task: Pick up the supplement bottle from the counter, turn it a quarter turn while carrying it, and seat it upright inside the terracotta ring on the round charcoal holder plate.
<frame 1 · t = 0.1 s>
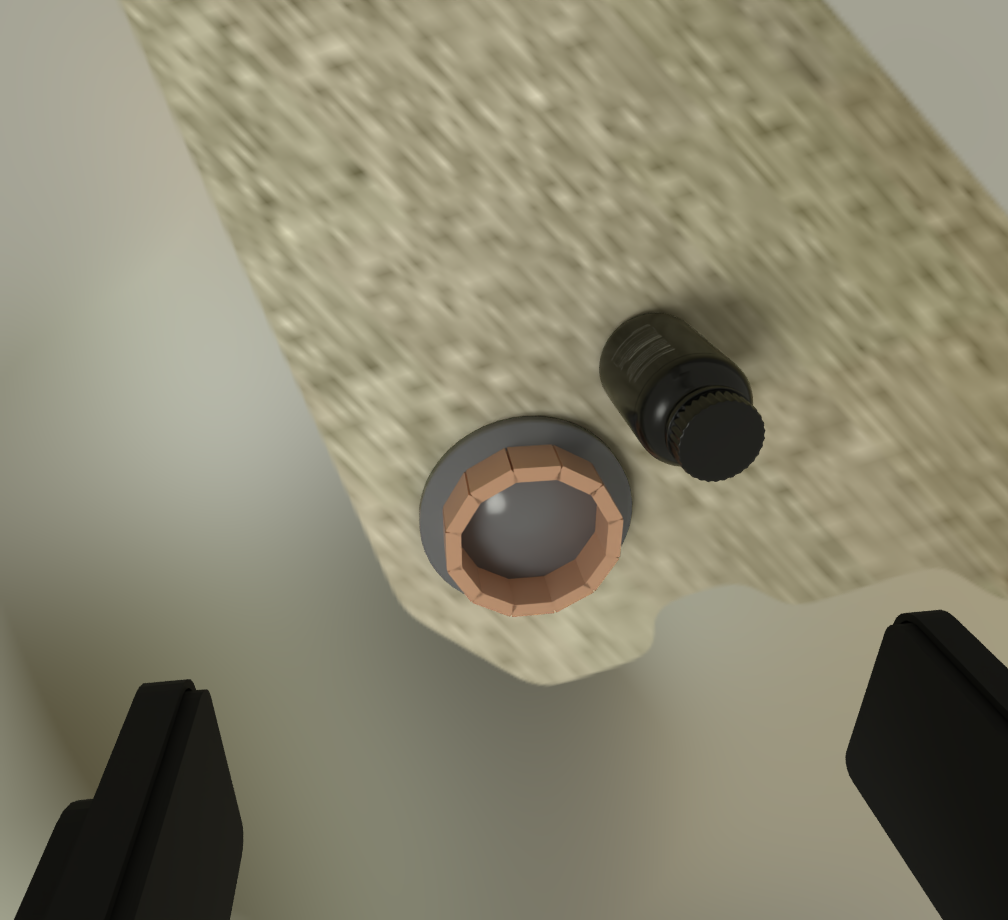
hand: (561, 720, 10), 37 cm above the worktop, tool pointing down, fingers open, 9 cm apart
bottle holder: (524, 511, 52), on the worktop
supplement bottle: (646, 359, 48), on the worktop
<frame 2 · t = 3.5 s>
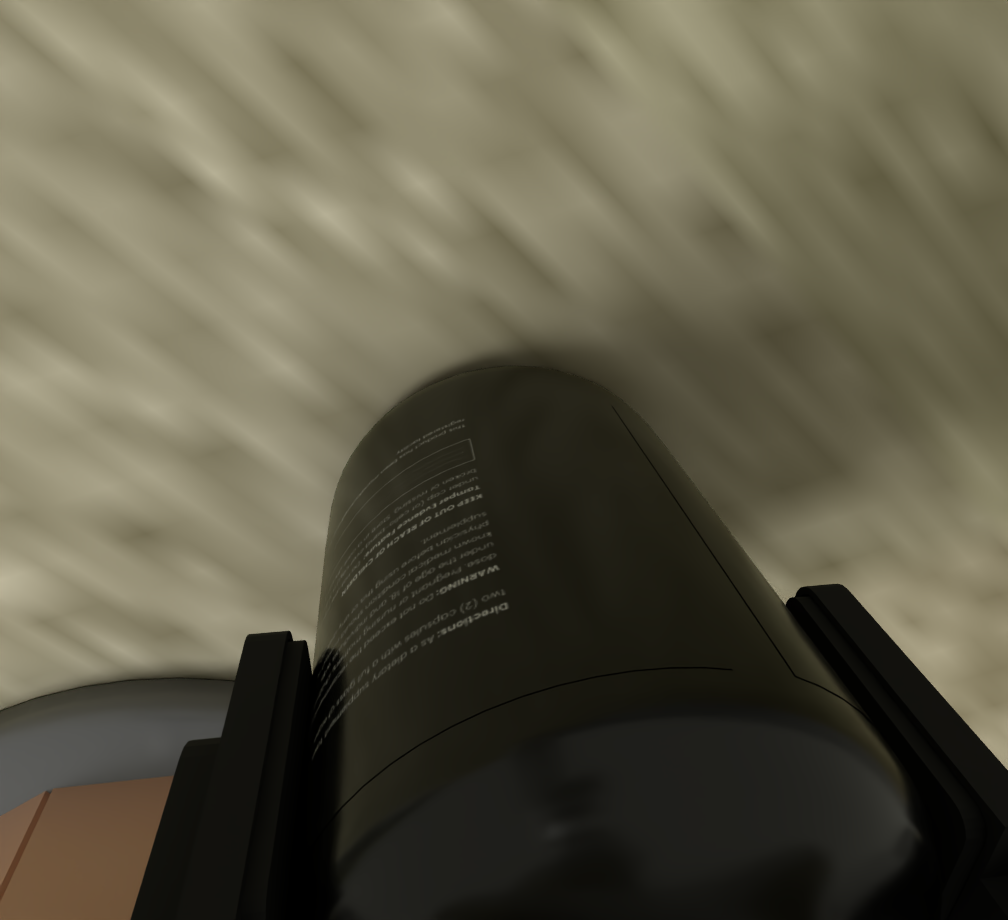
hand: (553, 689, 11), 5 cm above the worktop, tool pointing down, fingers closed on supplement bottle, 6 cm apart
bottle holder: (197, 895, 19), on the worktop
supplement bottle: (504, 509, 15), on the worktop, touching gripper
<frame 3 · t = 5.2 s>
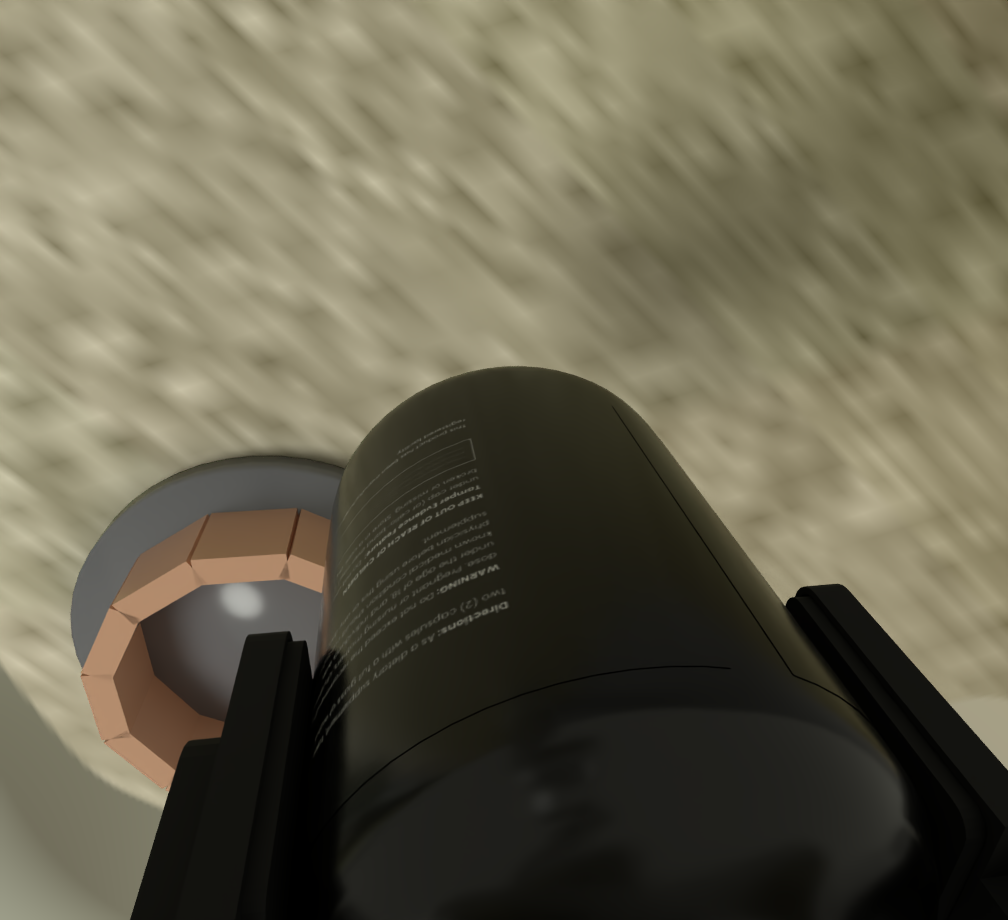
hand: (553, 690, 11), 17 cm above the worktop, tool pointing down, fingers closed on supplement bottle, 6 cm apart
bottle holder: (281, 619, 30), on the worktop
supplement bottle: (505, 508, 15), point 12 cm above the worktop, touching gripper
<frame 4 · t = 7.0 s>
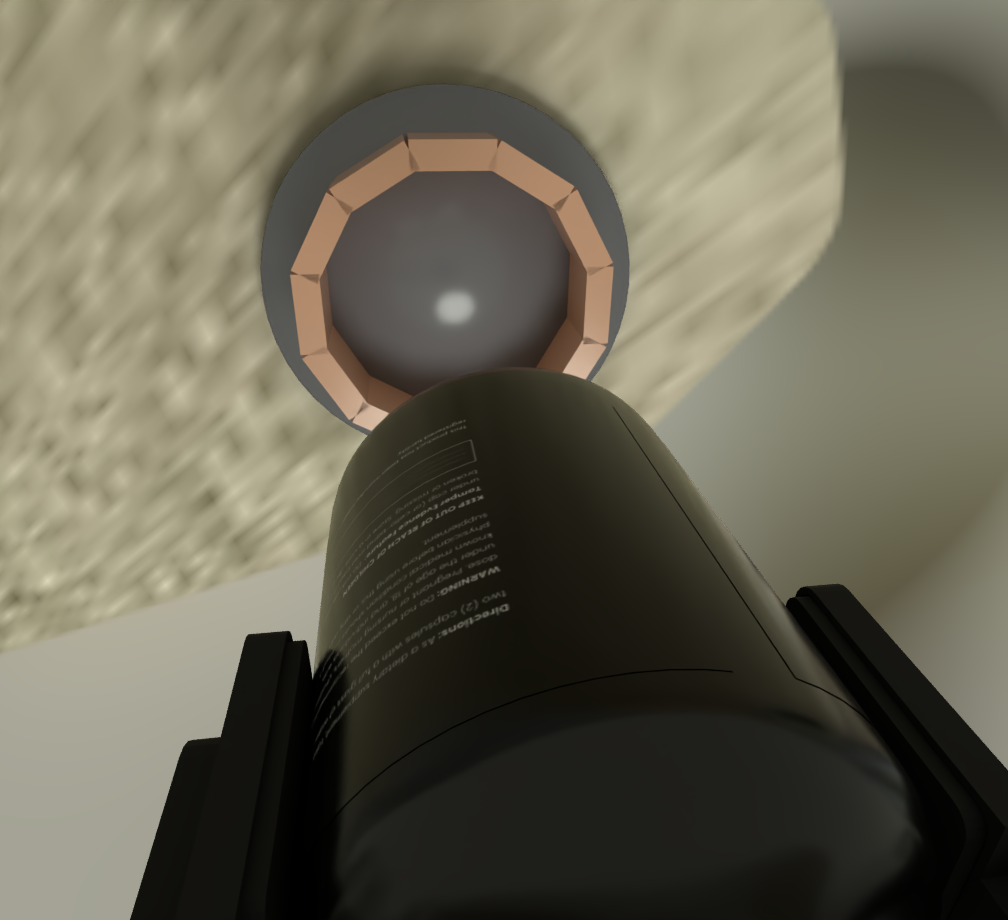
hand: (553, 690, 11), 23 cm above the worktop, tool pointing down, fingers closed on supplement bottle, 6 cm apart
bottle holder: (449, 282, 31), on the worktop
supplement bottle: (506, 509, 15), point 18 cm above the worktop, touching gripper
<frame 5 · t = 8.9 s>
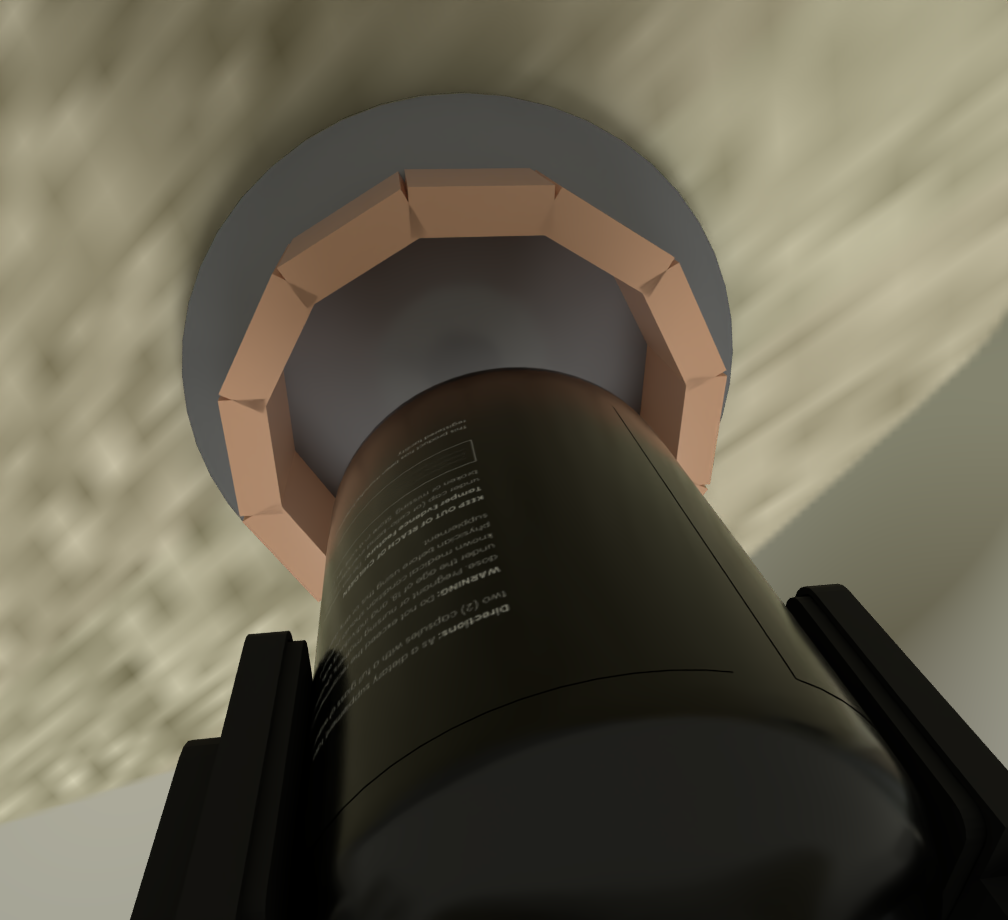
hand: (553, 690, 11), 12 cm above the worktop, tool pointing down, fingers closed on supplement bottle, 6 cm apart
bottle holder: (467, 381, 21), on the worktop
supplement bottle: (506, 509, 15), point 7 cm above the worktop, touching gripper
when the fingers open (8 cm above the worktop, at t = 10.4 s): supplement bottle drops 2 cm, resting on bottle holder.
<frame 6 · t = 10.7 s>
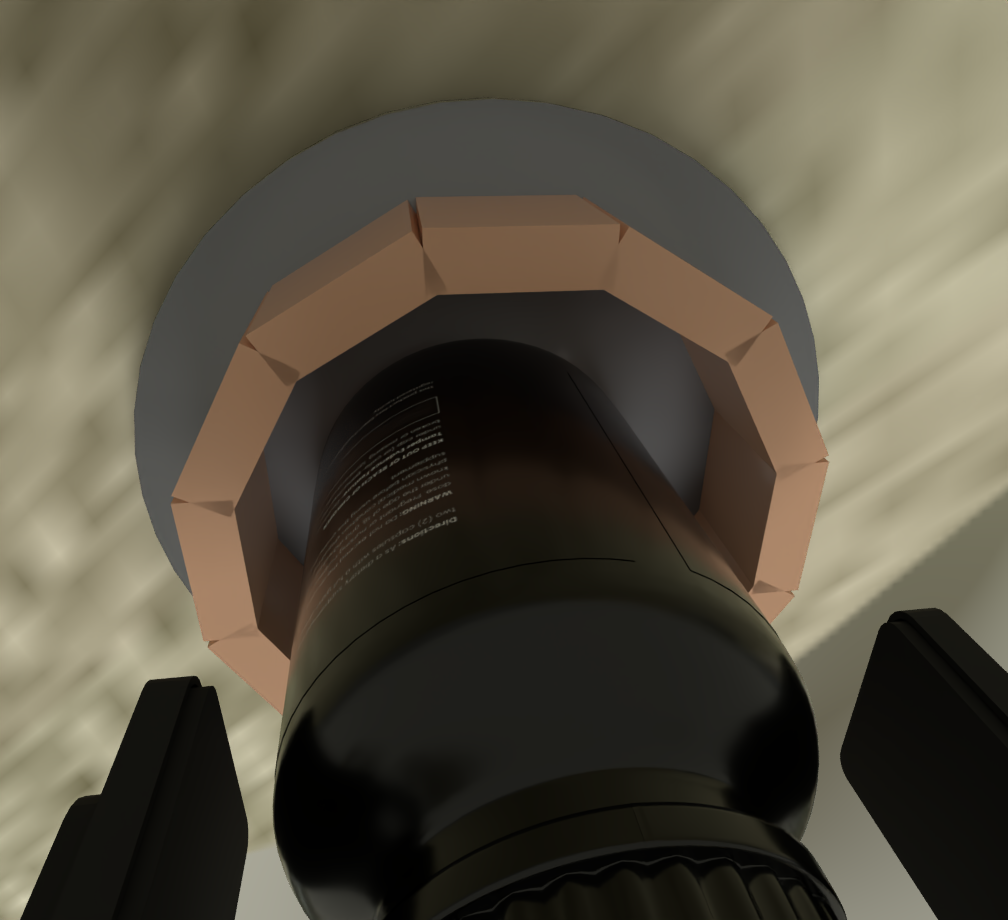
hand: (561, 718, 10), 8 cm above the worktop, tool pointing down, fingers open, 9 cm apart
bottle holder: (489, 449, 17), on the worktop
supplement bottle: (477, 472, 16), point 1 cm above the worktop, touching bottle holder
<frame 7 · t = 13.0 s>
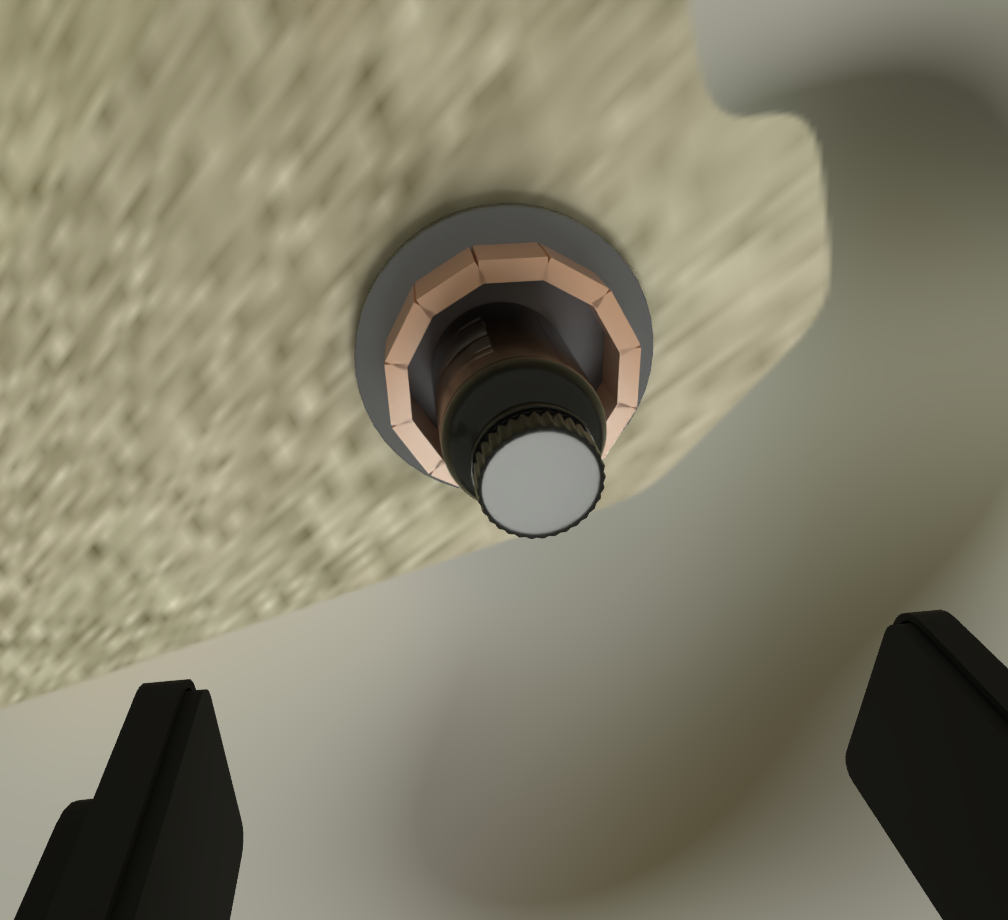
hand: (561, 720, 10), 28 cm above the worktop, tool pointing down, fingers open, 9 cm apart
bottle holder: (504, 355, 38), on the worktop
supplement bottle: (499, 363, 37), point 1 cm above the worktop, touching bottle holder
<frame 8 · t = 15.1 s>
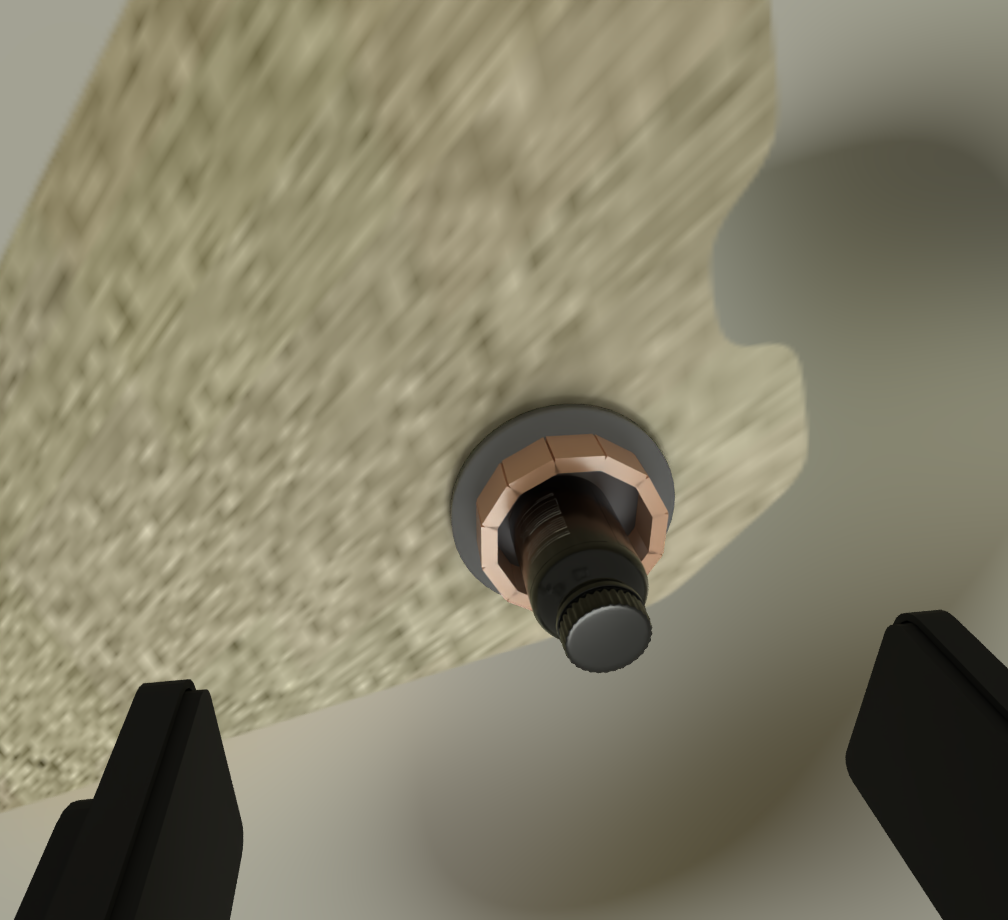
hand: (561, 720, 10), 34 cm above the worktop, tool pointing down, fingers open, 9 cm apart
bottle holder: (561, 505, 50), on the worktop
supplement bottle: (558, 514, 49), point 1 cm above the worktop, touching bottle holder
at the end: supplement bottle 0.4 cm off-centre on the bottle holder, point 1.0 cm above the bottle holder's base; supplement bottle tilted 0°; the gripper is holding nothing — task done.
